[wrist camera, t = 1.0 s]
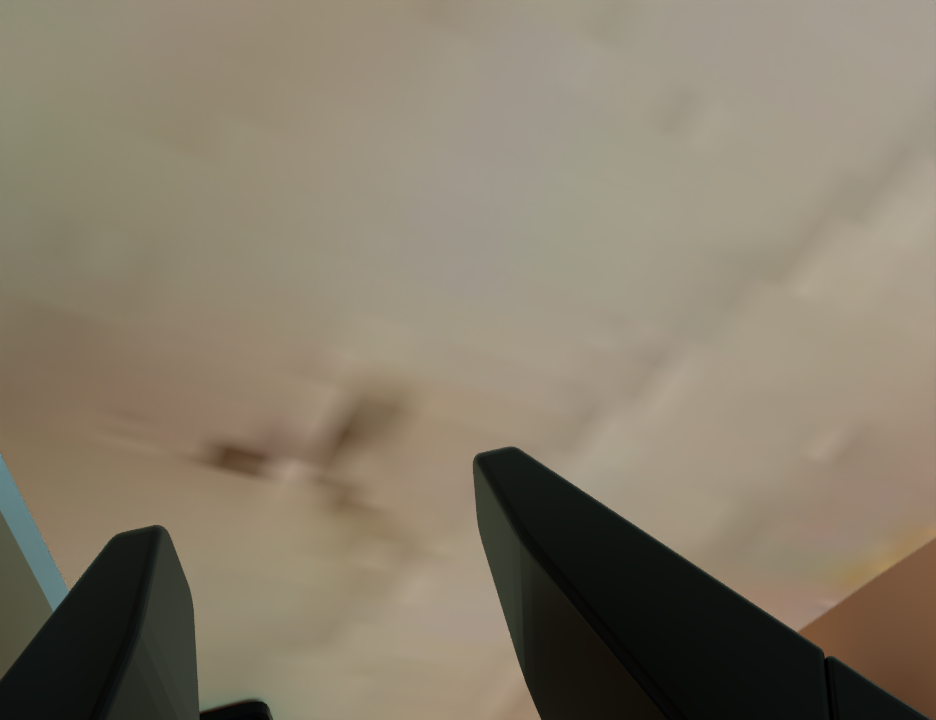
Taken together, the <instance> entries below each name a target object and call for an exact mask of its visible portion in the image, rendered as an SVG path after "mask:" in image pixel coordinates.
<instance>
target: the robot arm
mask: <svg viewBox="0 0 936 720" xmlns="http://www.w3.org/2000/svg"><path fill="white" fill-rule="evenodd" d="M473 475H474V488H475V500H476V512H477V521H478V527H479V532H480V536H481V540H482V544H483V547H484V550H485V554H486V557H487V560H488V563H489V567H490V570H491V573H492V576H493V580H494V583H495V586H496V590H497V593H498V596H499V599H500V603H501V606H502V609H503V612H504V616H505V619H506V622H507V626H508V629H509V632H510V635H511V639H512V642H513V645H514V648H515V652H516V655H517V658H518V661H519V664H520V667H521V670H522V673H523V676H524V679H525V682H526V684H527V687H528V689H529V692H530V694H531V697H532V699H533V701H534V704H535V706H536V709H537V711H538V713H539V715H540V718H541V720H932V719H930V718H929V717H927V716H925V715H923V714H922V713H921V712H919V711H918V710H916V709H914V708H913V707H911V706H910V705H908V704H906V703H905V702H903V701H902V700H900V699H898V698H897V697H895V696H894V695H892V694H891V693H889V692H887V691H886V690H884V689H883V688H881V687H879V686H878V685H876V684H875V683H873V682H872V681H870V680H869V679H867V678H866V677H864V676H863V675H861V674H860V673H858V672H857V671H855V670H854V669H852V668H851V667H849V666H848V665H846V664H845V663H843V662H841V661H840V660H839V659H837V658H836V657H833V656H828V657H826V658H825V657H824V652H823V650H822V649H821V648H820V647H818V646H816V645H815V644H813V643H812V642H811V641H809V640H807V639H806V638H805V637H803V636H801V635H800V634H799V633H797V632H796V631H794V630H792V629H791V628H789V627H788V626H786V625H785V624H783V623H782V622H780V621H779V620H777V619H776V618H774V617H773V616H771V615H770V614H768V613H767V612H765V611H764V610H762V609H761V608H759V607H758V606H756V605H755V604H753V603H752V602H750V601H749V600H747V599H746V598H744V597H743V596H741V595H740V594H738V593H737V592H735V591H733V590H732V589H730V588H729V587H727V586H726V585H724V584H723V583H721V582H720V581H718V580H717V579H715V578H714V577H712V576H711V575H709V574H708V573H706V572H705V571H703V570H702V569H700V568H699V567H697V566H696V565H694V564H693V563H691V562H690V561H688V560H687V559H685V558H684V557H682V556H681V555H679V554H678V553H676V552H675V551H673V550H671V549H670V548H668V547H667V546H665V545H664V544H662V543H661V542H659V541H658V540H656V539H655V538H653V537H652V536H650V535H649V534H647V533H646V532H644V531H643V530H641V529H640V528H638V527H637V526H635V525H634V524H632V523H631V522H629V521H628V520H626V519H625V518H623V517H622V516H620V515H619V514H617V513H616V512H614V511H612V510H611V509H609V508H608V507H606V506H605V505H603V504H602V503H600V502H599V501H597V500H596V499H594V498H593V497H591V496H590V495H588V494H587V493H585V492H584V491H582V490H581V489H579V488H578V487H576V486H575V485H573V484H572V483H570V482H569V481H567V480H566V479H564V478H563V477H561V476H560V475H558V474H557V473H555V472H553V471H552V470H550V469H549V468H547V467H546V466H544V465H543V464H541V463H540V462H538V461H537V460H535V459H534V458H532V457H531V456H529V455H528V454H526V453H525V452H523V451H522V450H520V449H518V448H516V447H504V448H500V449H495V450H491V451H486V452H482V453H479V454H477V455H476V456H475V458H474V460H473ZM0 720H273V718H272V715H271V712H270V709H269V707H268V705H267V704H265V703H263V702H250V703H246V704H243V705H239V706H235V707H231V708H228V709H224V710H220V711H216V712H213V713H209V714H205V715H202V716H199V698H198V680H197V662H196V643H195V625H194V610H193V602H192V597H191V592H190V588H189V585H188V582H187V580H186V577H185V574H184V572H183V569H182V566H181V564H180V561H179V558H178V556H177V553H176V550H175V548H174V545H173V542H172V540H171V537H170V535H169V533H168V531H167V530H166V529H165V528H164V527H162V526H160V525H153V526H149V527H144V528H139V529H135V530H130V531H126V532H122V533H119V534H117V535H115V536H114V537H113V538H112V539H111V540H110V541H109V542H108V543H107V544H106V546H105V547H104V548H103V550H102V551H101V552H100V553H99V555H98V556H97V557H96V558H95V560H94V561H93V562H92V564H91V565H90V566H89V567H88V569H87V570H86V571H85V573H84V574H83V575H82V576H81V578H80V579H79V580H78V581H77V583H76V584H75V585H74V587H73V588H72V589H71V590H70V592H69V593H68V594H67V595H66V597H65V598H64V599H63V601H62V602H61V603H60V604H59V606H58V607H57V608H56V610H55V611H54V612H53V613H52V615H51V616H50V617H49V618H48V620H47V621H46V622H45V624H44V625H43V626H42V627H41V629H40V630H39V631H38V633H37V634H36V635H35V636H34V638H33V639H32V640H31V641H30V643H29V644H28V645H27V647H26V648H25V649H24V650H23V652H22V653H21V654H20V655H19V657H18V658H17V659H16V661H15V662H14V663H13V664H12V666H11V667H10V668H9V670H8V671H7V672H6V673H5V675H4V676H3V677H2V678H1V680H0Z"/></svg>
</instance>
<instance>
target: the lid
mask: <svg viewBox="0 0 936 720" xmlns="http://www.w3.org/2000/svg"><path fill="white" fill-rule="evenodd" d="M68 593H69V590H68V588H67V586H66V584H65V582H64V580H63V578H62V576H61V574H60V572H59V570H58V568H57V566H56V564H55V562H54V560H53V558H52V556H51V554H50V552H49V550H48V548H47V546H46V544H45V542H44V540H43V538H42V536H41V534H40V532H39V530H38V528H37V526H36V524H35V522H34V520H33V518H32V516H31V514H30V512H29V510H28V508H27V506H26V504H25V502H24V500H23V498H22V496H21V494H20V492H19V490H18V488H17V486H16V484H15V482H14V480H13V478H12V476H11V474H10V472H9V470H8V468H7V466H6V464H5V462H4V460H3V458H2V456H1V454H0V680H1V678H2V677H3V676H4V675H5V673H6V672H7V671H8V670H9V668H10V667H11V666H12V664H13V663H14V662H15V661H16V659H17V658H18V657H19V655H20V654H21V653H22V652H23V650H24V649H25V648H26V647H27V645H28V644H29V643H30V641H31V640H32V639H33V638H34V636H35V635H36V634H37V633H38V631H39V630H40V629H41V627H42V626H43V625H44V624H45V622H46V621H47V620H48V618H49V617H50V616H51V615H52V613H53V612H54V611H55V610H56V608H57V607H58V606H59V604H60V603H61V602H62V601H63V599H64V598H65V597H66V595H67V594H68Z"/></svg>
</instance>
